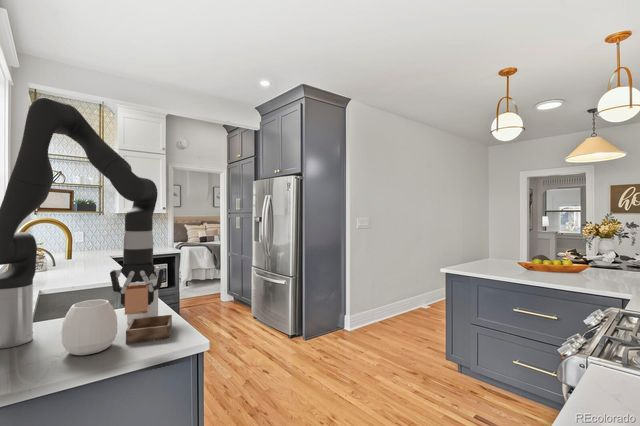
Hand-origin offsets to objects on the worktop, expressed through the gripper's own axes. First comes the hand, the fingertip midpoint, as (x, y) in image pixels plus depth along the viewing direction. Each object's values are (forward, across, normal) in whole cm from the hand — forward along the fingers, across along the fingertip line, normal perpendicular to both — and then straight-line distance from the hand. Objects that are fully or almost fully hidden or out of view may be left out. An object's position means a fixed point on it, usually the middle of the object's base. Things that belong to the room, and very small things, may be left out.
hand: (137, 304), depth 95 cm
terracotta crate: (+2, 0, 0) cm, 2 cm away
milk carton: (+13, -2, +27) cm, 30 cm away
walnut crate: (+13, +2, +12) cm, 18 cm away
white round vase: (+13, -12, +5) cm, 19 cm away
